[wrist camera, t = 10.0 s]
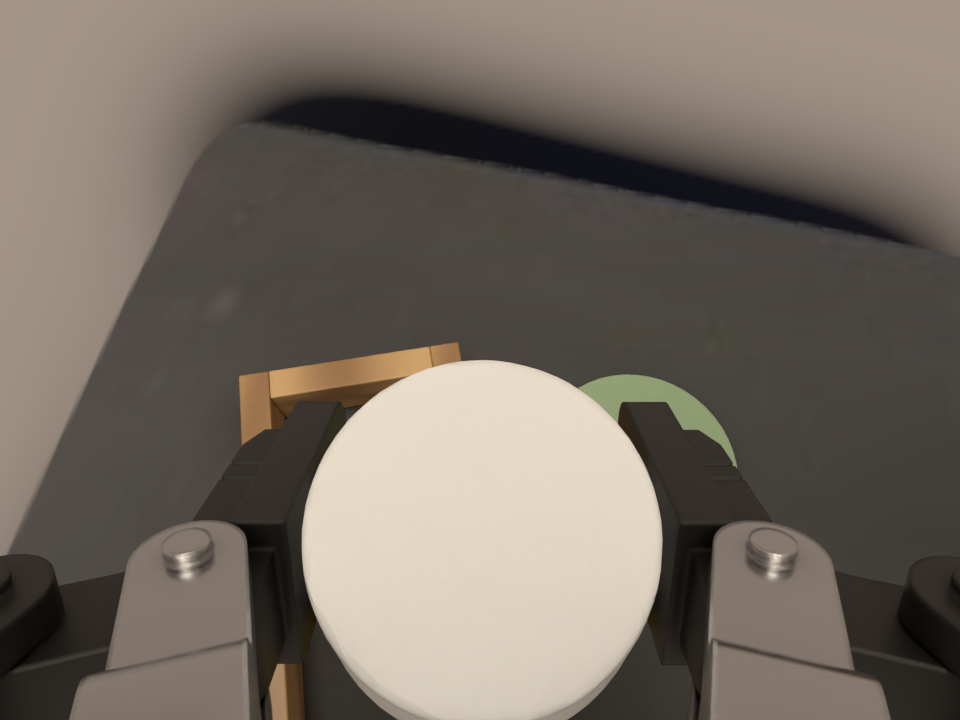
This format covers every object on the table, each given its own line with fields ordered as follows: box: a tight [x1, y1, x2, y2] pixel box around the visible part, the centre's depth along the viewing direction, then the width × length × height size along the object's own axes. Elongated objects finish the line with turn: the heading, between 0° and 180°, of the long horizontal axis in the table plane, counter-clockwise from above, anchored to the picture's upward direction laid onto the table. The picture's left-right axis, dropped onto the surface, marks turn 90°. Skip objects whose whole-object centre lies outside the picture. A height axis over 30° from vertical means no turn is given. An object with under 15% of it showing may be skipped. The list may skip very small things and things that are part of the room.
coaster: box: [577, 375, 737, 468], centre depth 29 cm, size 8×8×1 cm
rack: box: [239, 342, 462, 720], centre depth 26 cm, size 9×17×2 cm, turn 10°
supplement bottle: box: [302, 360, 663, 720], centre depth 11 cm, size 5×5×8 cm
